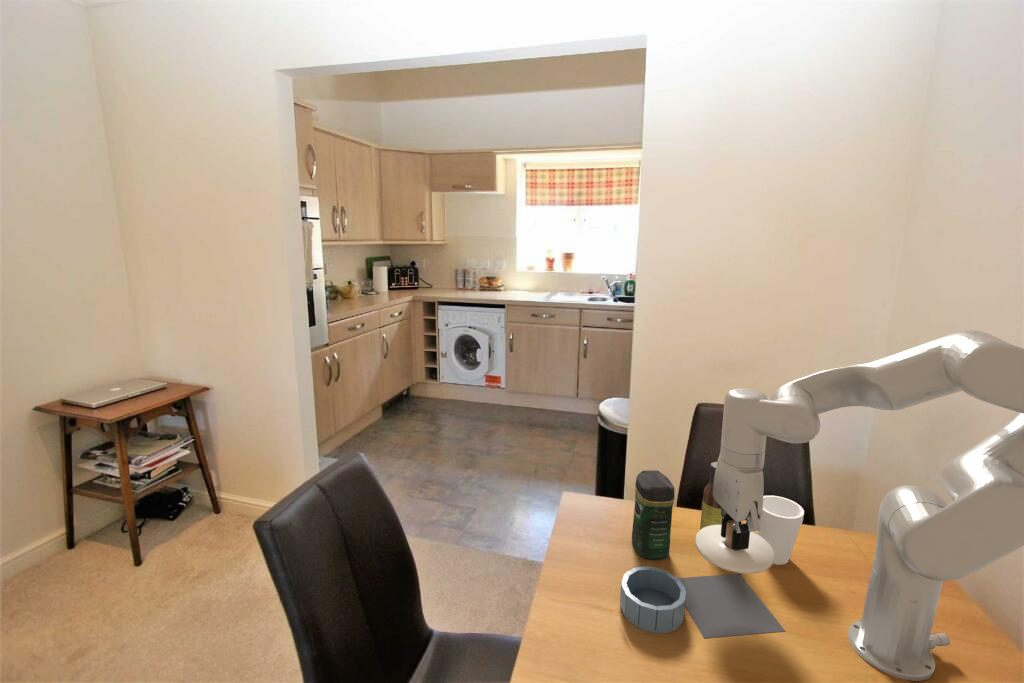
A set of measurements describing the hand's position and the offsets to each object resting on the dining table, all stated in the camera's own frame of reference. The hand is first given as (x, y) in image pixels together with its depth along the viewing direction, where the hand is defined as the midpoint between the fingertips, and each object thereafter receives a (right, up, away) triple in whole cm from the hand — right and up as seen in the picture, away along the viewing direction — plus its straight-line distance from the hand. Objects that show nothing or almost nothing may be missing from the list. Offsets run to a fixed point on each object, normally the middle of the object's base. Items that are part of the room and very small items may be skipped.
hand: (734, 541), depth 99 cm
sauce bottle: (+5, -9, +24) cm, 26 cm away
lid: (0, -2, 0) cm, 2 cm away
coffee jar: (-11, -10, +21) cm, 26 cm away
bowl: (-16, -14, +2) cm, 21 cm away
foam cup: (+17, -11, +18) cm, 27 cm away
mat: (-1, -14, +4) cm, 15 cm away
